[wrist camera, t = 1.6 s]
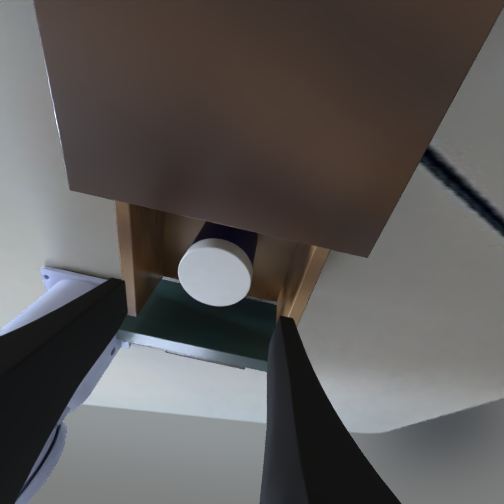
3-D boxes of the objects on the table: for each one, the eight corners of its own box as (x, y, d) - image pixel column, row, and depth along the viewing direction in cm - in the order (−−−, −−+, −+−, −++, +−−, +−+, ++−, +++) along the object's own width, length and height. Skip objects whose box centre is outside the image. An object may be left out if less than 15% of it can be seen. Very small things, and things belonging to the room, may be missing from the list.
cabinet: (337, 199, 18) (367, 258, 11) (147, 155, 18) (69, 190, 11) (492, -187, 10) (926, -769, 3) (137, -281, 9) (-188, -1124, 3)
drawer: (275, 345, 25) (273, 405, 20) (152, 318, 25) (120, 372, 20) (350, 151, 15) (382, 178, 10) (148, 103, 15) (84, 108, 10)
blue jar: (251, 267, 19) (243, 313, 15) (198, 255, 19) (176, 298, 15) (264, 218, 17) (258, 257, 13) (204, 204, 17) (179, 239, 13)
